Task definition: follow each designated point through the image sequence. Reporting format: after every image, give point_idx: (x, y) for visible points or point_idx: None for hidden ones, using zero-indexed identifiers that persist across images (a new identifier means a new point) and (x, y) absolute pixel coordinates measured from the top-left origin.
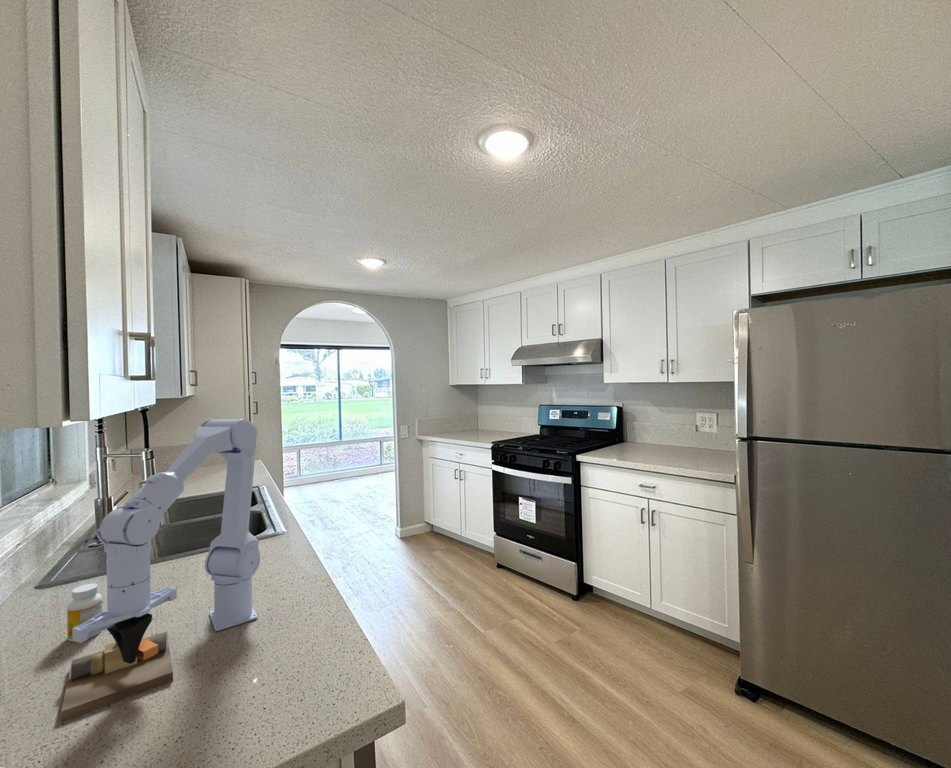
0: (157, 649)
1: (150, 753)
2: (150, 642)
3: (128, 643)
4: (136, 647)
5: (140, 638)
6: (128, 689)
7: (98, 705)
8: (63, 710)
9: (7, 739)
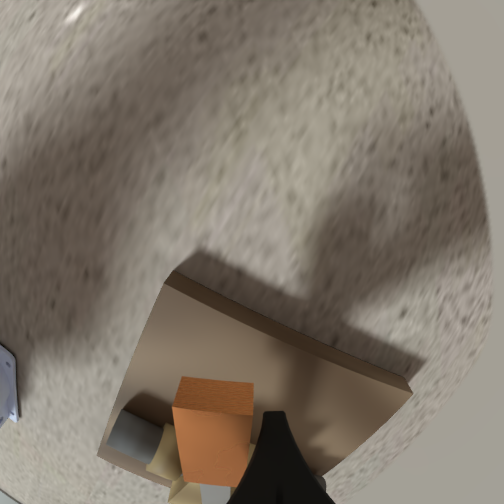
0: (181, 390)
1: (408, 18)
2: (184, 448)
3: (323, 494)
4: (268, 459)
5: (248, 492)
6: (292, 342)
7: (351, 360)
8: (409, 394)
9: (448, 400)
